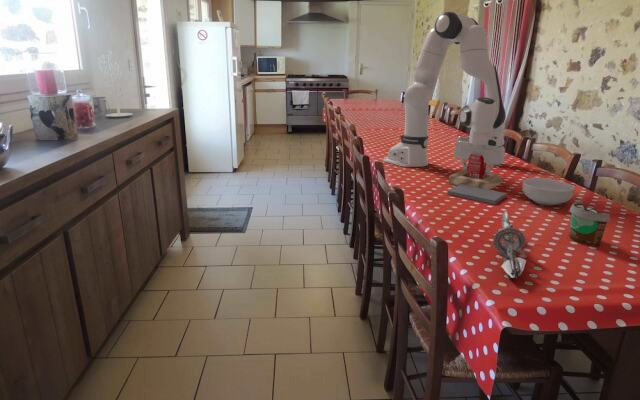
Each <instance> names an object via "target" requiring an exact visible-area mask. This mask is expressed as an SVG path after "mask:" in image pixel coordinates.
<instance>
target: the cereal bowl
mask: <svg viewBox="0 0 640 400" xmlns="http://www.w3.org/2000/svg"><path fill="white" fill-rule="evenodd" d="M522 191H523V193H524V194H525V195H524V196H526V197H527V198H529V199H530V200H532V201H533V202H534V203H536V204H538V205H543V206H557V205H560V204H564V203H567V202H568V201H569V200H571V198H572V197H573V195H574V192H575V186H574V185H572V184H570V183H568V182H564V181H561V180H556V179H552V178H543V177H531V178H526V179H523V182H522Z"/></svg>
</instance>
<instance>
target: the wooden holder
mask: <svg viewBox="0 0 640 400" xmlns="http://www.w3.org/2000/svg"><path fill="white" fill-rule="evenodd" d="M467 171H468V170H463V169H462V170H460V171H457V172H455V173H453V174H450V175H449V176H448V177H449V179H448V184H449V185H453V186H455V187H456V186H458V185H460V184H462V185H467V186H472V187H477V188H482V189H487V190H492V189H494V188H496V187H497V186H499V185H501V183H502V180H503V179H502V178H503V175H502V174H497V173H491V172H490V174H485V179H483V180H481V179H476V178H470V177H467Z"/></svg>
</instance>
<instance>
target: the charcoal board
mask: <svg viewBox="0 0 640 400" xmlns="http://www.w3.org/2000/svg"><path fill="white" fill-rule="evenodd" d="M448 194H449V196H453V195H454V196H453V197H457V196H458V198H463V199H466V200H471V201H472V200H473V201H477V202H481V203H485V204H490V205H496V204H497V203H499V202H500V201H502V200H503V199H505V198H506V197H507V193H506V192H501V191H496V190H492V189H490V190H487V189H482V188H477V187H472V186H467V185H462V184H460V185H458V186H456V185H455V186H454V187H453V188H450V189H448V190H447V195H448Z"/></svg>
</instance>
